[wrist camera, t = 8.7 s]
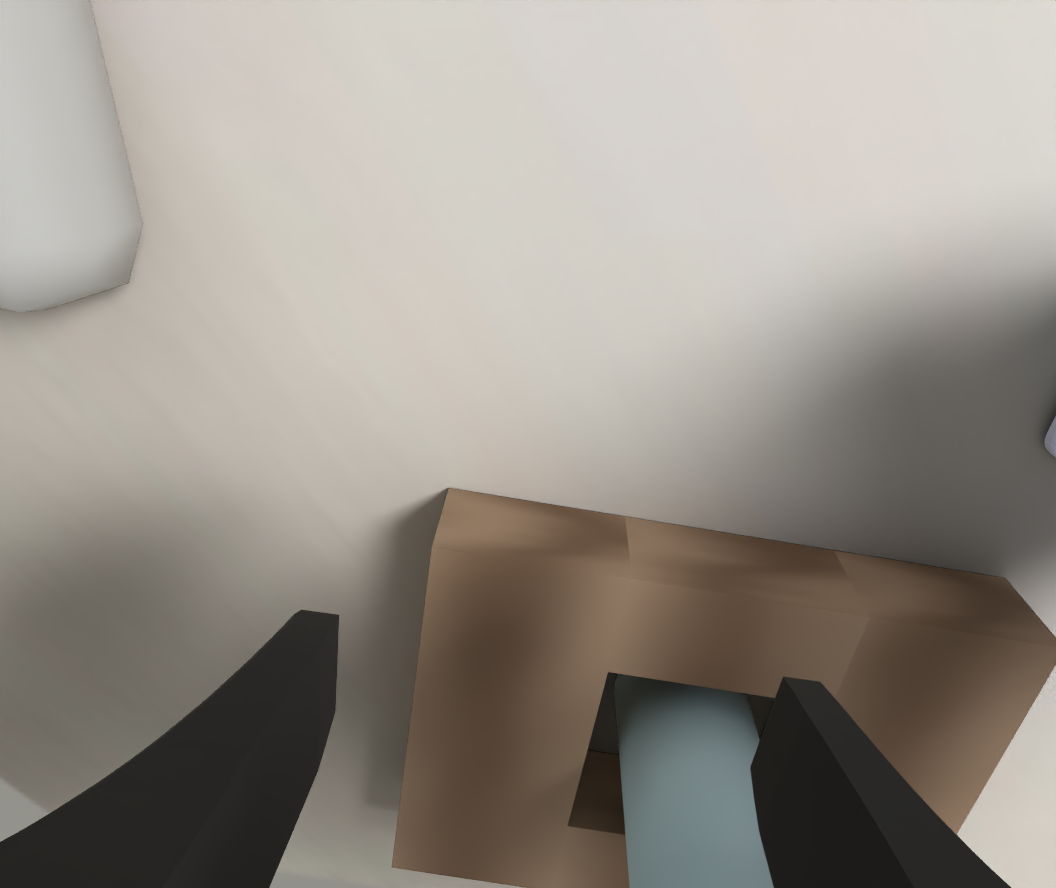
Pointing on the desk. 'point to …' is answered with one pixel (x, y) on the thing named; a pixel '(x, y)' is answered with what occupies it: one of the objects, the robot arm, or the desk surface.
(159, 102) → the desk surface
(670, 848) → the peg
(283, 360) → the desk surface
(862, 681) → the socket board
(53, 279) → the tube
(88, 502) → the desk surface
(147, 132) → the desk surface
